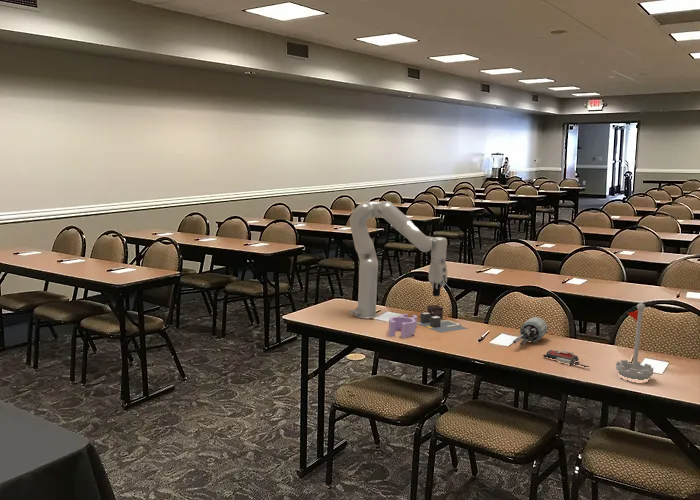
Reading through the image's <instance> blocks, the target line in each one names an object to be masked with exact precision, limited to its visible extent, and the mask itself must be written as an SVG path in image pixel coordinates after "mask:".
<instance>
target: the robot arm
mask: <svg viewBox="0 0 700 500" xmlns="http://www.w3.org/2000/svg"><path fill="white" fill-rule="evenodd" d="M370 218H373V219H374V218H382V219H384V220H385V221H386V222H387V223H389V225H391V226H392V227H393V228H394V229H395V230H396V231H398V232H399V233H400V234H401V235H402V236H403V237H404V238H406V239H407V240H408V241H409V242H410V243H411V244H412V245H414V246H415V247H416V248H417V249H418V250H419V251H420V252H422V253H427V252H430V251H431V257H430V258H431V259H430V262H429V263H430V264H429V269H428V282H429V283H430V285H431V287H432V296H434V297H439V296H440V294H441V289H442V287H445V286H446V283H447V282H448V268H447V267H448V266H447V264H446V263H447V261H446V260H447V247H448V246H447V245H448V239H447V238H446V237H442V236H435V237H434V236H427V235H426V234H424V233H423V232H422V231H421V230H420V228H419V227H417V226H416V225H415V223H413V221H412V220H411V219H410V218H409V217H408V216H407V215H406V214H404V213H403V212H402V211H401V210H400V209H399V208H398V207H396V206H395V204H394V203H393V202H391V201H389V200H388V201H386V200H385V201H363V202H361V203H359V204H358V205H357V206H356V208H354V210H353V211H352V212H351V214H350V218H349V225H350V226H349V227H350V231H351V234H352V238H353V239H352V240H353V244H354V249H355V252H356V253H357V256H358V260H359V265H358V295H357V298H358V299H357V307H356V308H355V309H350V310H349V313H350V314H351V315H353V314H354V317H356V318H359V319H364V320H372V319H374V317H375V318H376V317H377V318H378V317H379V313H377V292H378V289H377V288H378V287H377V286H378V274H379V273H378V272H379V270H378V269H379V261H378V257H377V253H376V249H375V246H374V241H373V239H372V238H371V236H370V233H369V229H368V225H367V221H368V219H370Z"/></svg>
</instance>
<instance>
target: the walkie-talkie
mask: <svg viewBox="0 0 700 500" xmlns="http://www.w3.org/2000/svg"><path fill="white" fill-rule="evenodd" d="M543 356H544V357H543ZM542 357H543V358H546V357H548V358H552V359H556V360H558V361H560V362H564V363H569V364H575V365H581V366H584V367H583V368H585V367H590V366H589V365H585V364H581V363H577V362H576V363H574V362H575V361H578V360H579V361H580V359H579V356H578V355H575V354H574V352H573V351H568V350H562V351H559V349H556V350H553V349H550V350H548V351H547V352H546V354H543V355H542ZM579 361H578V362H579ZM575 365H574V366H575Z"/></svg>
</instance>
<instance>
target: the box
mask: <svg viewBox="0 0 700 500" xmlns="http://www.w3.org/2000/svg"><path fill="white" fill-rule="evenodd" d="M427 312H428V313H430V314H431V317H434V316H438V317H440V318H441V319H442V320H443V316H444V315H443V313H444V307H443V306H440V305H439V304H431V305H427Z"/></svg>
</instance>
